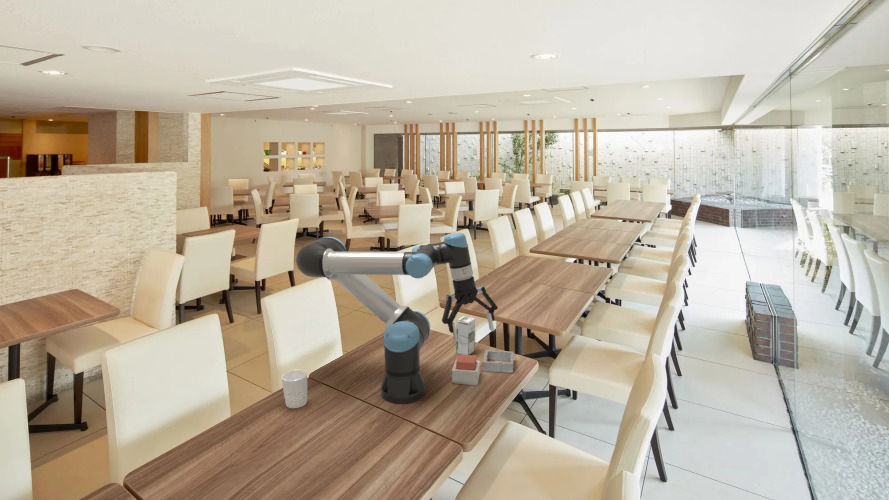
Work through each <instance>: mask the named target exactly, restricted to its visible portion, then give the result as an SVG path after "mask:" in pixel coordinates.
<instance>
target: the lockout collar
mask: <svg viewBox="0 0 889 500" xmlns="http://www.w3.org/2000/svg"><path fill="white" fill-rule="evenodd" d="M514 355H515V353H514V351H508V350H507V351H506V350H505V351H504V350H492V349H490V350H488V349H485V352H484V355H483V356H484V357H483V363H482V372H491V373H508V374H509V373H510V374H513V373H514V363H515V361H514V360H515V358H514ZM489 360H491V361H489ZM500 361H501V362H500ZM502 361H503V362H502ZM505 361H506V362H505ZM507 361H509V362H507Z"/></svg>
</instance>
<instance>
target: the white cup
mask: <svg viewBox="0 0 889 500" xmlns="http://www.w3.org/2000/svg"><path fill="white" fill-rule="evenodd" d="M280 379H281V384H282V390H283V395H284V396H283V397H284V401H285V406H286V407H287V408H288V409H298V408H301V407H304V406H305V405H306V404H307V403H308V372H307V371H306V370H304V369H293V370H288V371H287V372H285V373H282V375H281V378H280Z"/></svg>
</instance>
